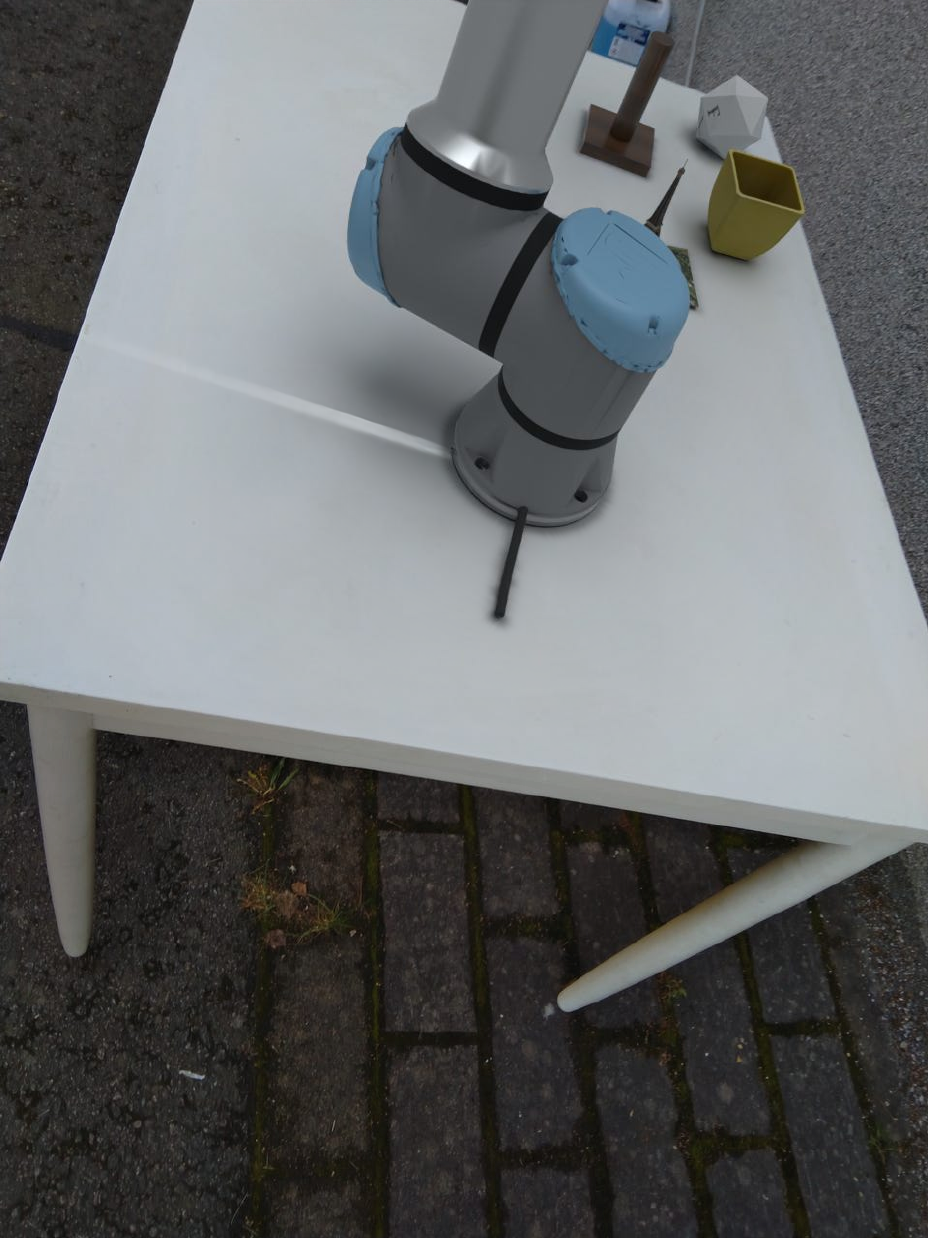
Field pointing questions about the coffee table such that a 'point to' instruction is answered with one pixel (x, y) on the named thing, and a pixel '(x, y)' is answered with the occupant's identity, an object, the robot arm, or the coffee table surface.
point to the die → (731, 116)
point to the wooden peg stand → (629, 115)
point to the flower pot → (752, 205)
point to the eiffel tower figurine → (680, 253)
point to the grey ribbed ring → (716, 0)
